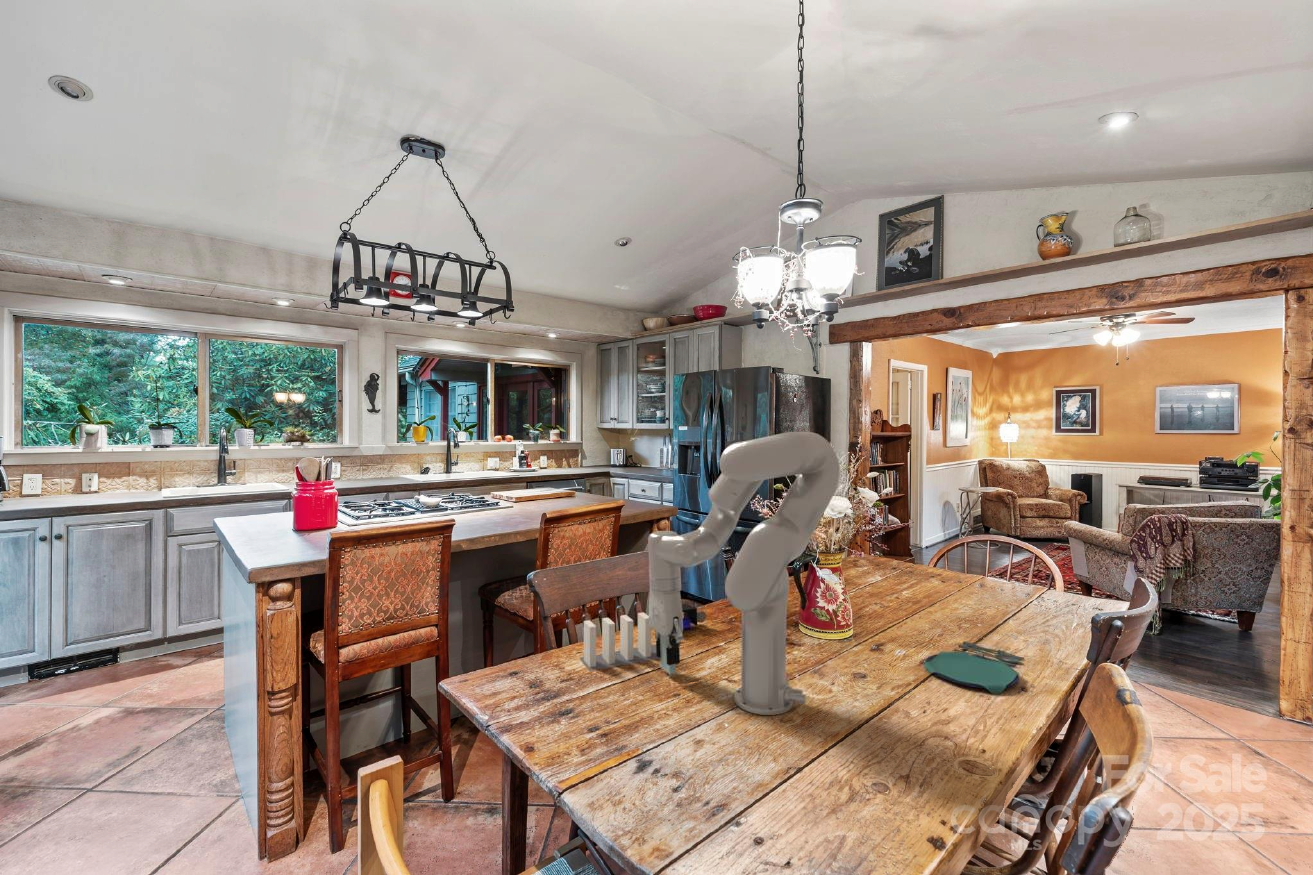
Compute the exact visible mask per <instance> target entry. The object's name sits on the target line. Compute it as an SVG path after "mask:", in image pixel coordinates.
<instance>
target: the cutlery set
mask: <svg viewBox="0 0 1313 875" xmlns="http://www.w3.org/2000/svg"><path fill="white" fill-rule="evenodd" d="M959 648H960V649H965V650H968V651H972V652H973V651H974V652H978V653H971V652H968V651H963V650H959ZM989 652H992V653H997V654H992V653H989ZM982 654H983V655H982ZM985 655H988V656H990V657H986V656H985ZM991 657H993V658H991ZM994 658H996V659H994ZM1024 659H1025V657H1023V656H1019V655H1016V654H1013V653H1010V652H1007V651H1005V650H1001V649H993V648H987V647H984V646H980V645H977V644H975V643H971V642H967V641H965V640H964V641H963V642H962V644H958V649H956V648H954V649H953V651H941V652H939V653H938V654H933V655H931V656H928V657H927V658H926V660H925V663H924V668H925V670H927V671H928V672H929V674H930V675H933V674H935V675H936V676H938V677H939V678H942V679H944V680H946V681H949V682H952V683H955V684H958V685H962V686H966V687H971V688H977V689H978V688H979V689H985V690H987V691H989V693H990V694H992V695H998V694H1001V693H1002V692H1003V691H1004V690H1005V689H1007V688H1010V687H1013V686H1015V685H1017V684H1018V683H1019V681H1020V676H1019V673H1020V672H1017V670H1015V669H1014V668H1012V667H1017V664H1016V663H1020V662H1021V661H1023V660H1024Z"/></svg>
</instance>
